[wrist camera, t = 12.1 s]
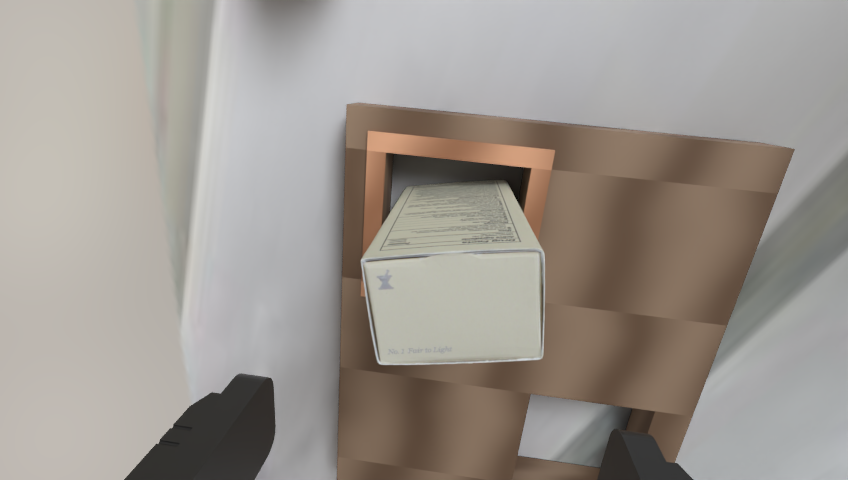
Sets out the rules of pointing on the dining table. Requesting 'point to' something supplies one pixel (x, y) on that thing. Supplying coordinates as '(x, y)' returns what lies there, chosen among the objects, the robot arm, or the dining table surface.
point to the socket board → (556, 287)
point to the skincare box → (455, 278)
